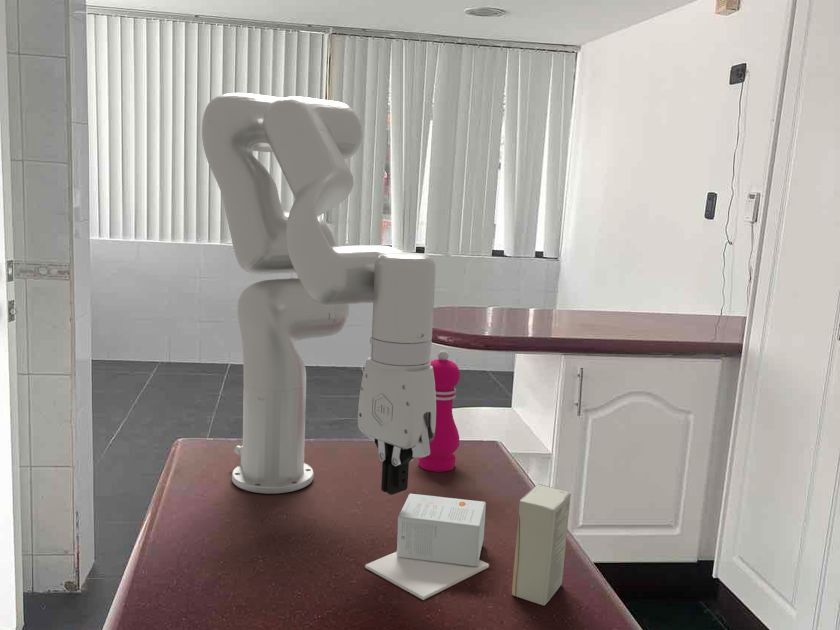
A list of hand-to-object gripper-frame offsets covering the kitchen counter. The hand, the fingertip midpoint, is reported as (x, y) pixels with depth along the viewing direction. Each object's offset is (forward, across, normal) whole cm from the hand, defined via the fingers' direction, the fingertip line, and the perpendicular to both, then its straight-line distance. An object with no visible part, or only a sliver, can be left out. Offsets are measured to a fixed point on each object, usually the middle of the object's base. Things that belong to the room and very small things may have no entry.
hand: (394, 490), depth 102 cm
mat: (+8, +6, 0) cm, 10 cm away
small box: (+5, 0, +1) cm, 5 cm away
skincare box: (+8, +19, +6) cm, 22 cm away
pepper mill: (+8, -17, +27) cm, 33 cm away
